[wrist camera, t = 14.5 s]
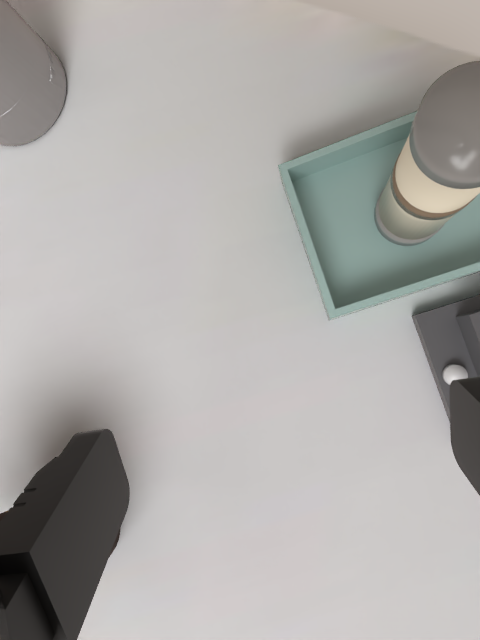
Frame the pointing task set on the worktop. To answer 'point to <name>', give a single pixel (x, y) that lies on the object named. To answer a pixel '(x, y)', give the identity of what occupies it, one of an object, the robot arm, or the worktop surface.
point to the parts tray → (369, 225)
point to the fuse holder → (451, 343)
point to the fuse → (435, 161)
